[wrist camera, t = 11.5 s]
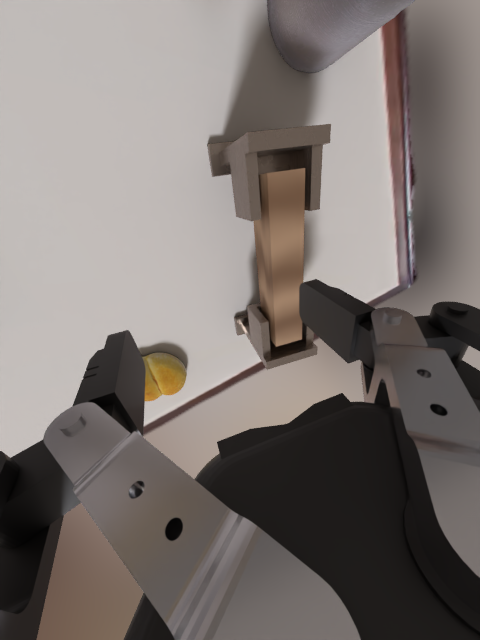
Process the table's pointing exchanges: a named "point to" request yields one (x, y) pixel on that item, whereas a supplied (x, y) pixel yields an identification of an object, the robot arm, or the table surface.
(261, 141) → the brackets
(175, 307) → the table surface
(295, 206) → the rail
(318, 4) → the pillar candle
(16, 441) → the table surface
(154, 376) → the bread roll
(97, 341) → the table surface
